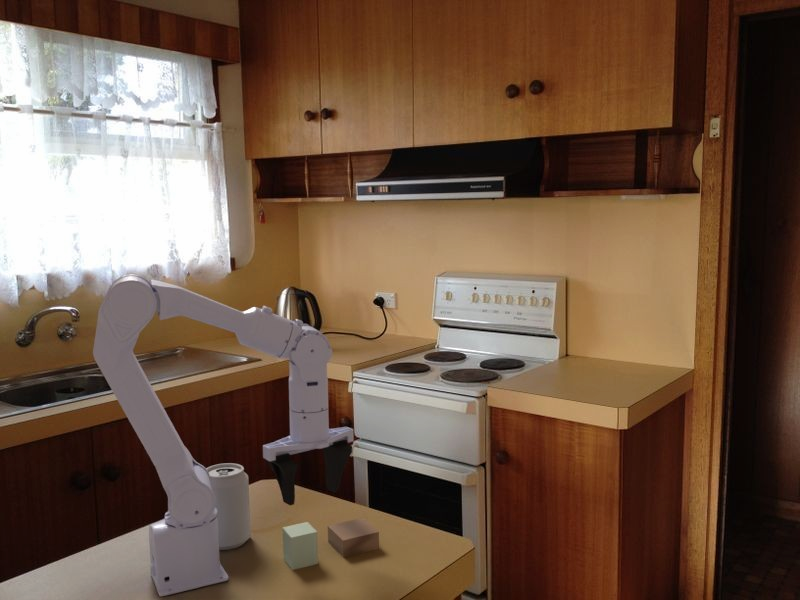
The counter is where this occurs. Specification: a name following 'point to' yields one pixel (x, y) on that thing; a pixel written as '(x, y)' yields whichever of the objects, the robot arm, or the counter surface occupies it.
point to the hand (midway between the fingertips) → (311, 496)
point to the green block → (300, 545)
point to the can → (231, 504)
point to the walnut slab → (353, 537)
